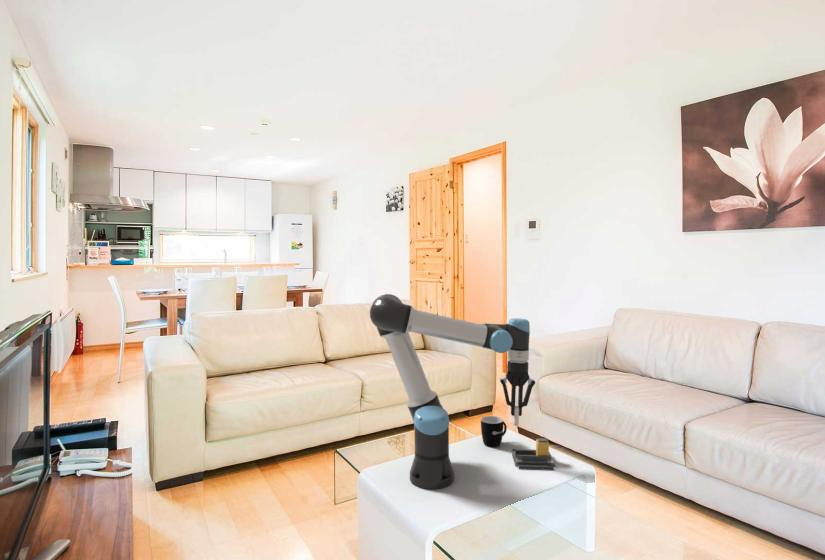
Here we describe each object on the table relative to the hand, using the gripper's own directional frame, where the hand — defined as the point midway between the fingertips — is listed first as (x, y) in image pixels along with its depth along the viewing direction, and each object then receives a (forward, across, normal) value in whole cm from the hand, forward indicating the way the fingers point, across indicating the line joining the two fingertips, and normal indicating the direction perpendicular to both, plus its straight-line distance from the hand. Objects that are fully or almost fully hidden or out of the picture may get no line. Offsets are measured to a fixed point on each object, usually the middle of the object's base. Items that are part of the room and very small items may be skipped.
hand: (515, 424), depth 174 cm
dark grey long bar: (+14, +7, -7) cm, 16 cm away
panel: (+14, +7, 0) cm, 15 cm away
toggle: (+12, +10, 0) cm, 16 cm away
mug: (+14, -6, +16) cm, 22 cm away
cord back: (+14, +6, +8) cm, 17 cm away
